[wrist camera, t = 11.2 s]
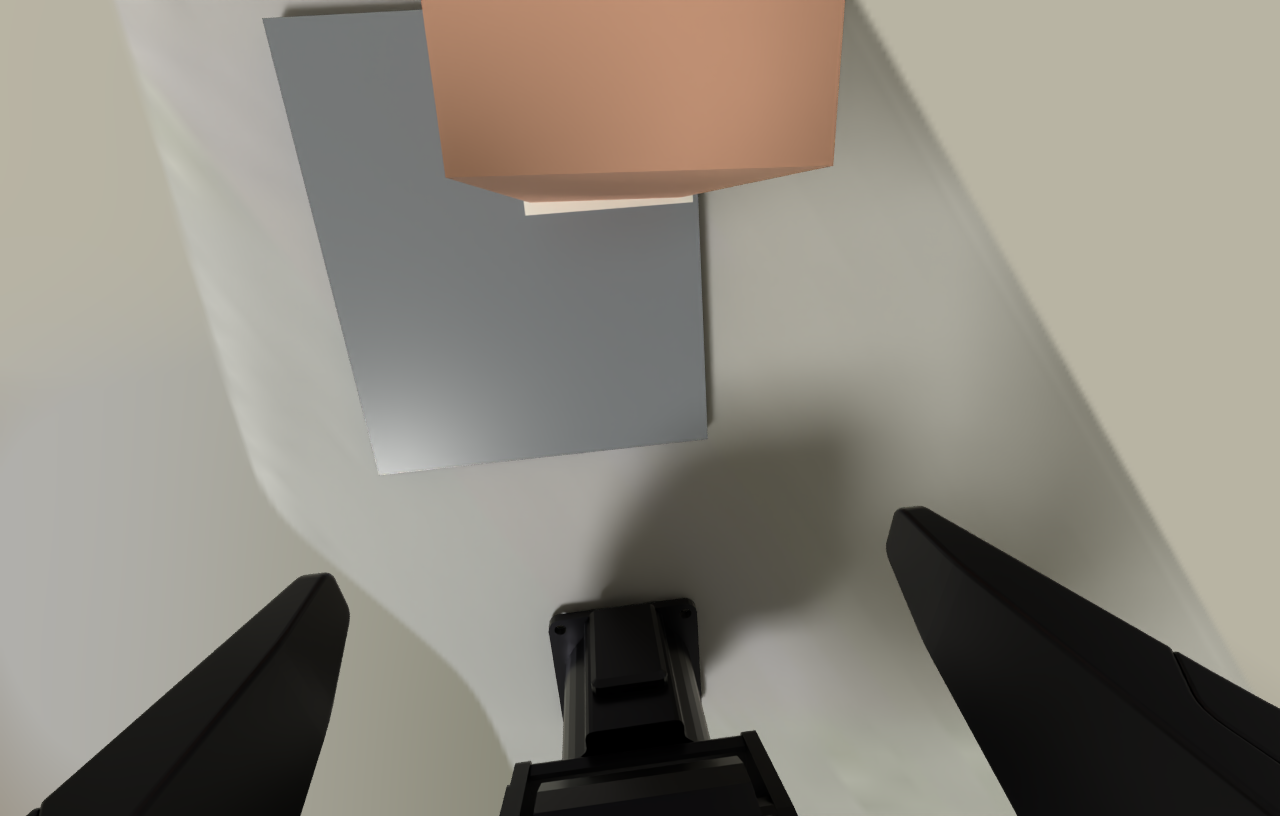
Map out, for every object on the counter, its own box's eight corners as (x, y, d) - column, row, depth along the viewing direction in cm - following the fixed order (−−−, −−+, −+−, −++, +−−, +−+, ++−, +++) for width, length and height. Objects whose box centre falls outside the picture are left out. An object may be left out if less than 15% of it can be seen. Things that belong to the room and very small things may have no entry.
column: (680, 197, 19) (833, 165, 7) (529, 202, 18) (445, 177, 7) (678, 22, 17) (870, -364, 6) (512, 24, 17) (367, -390, 5)
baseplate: (704, 433, 22) (708, 439, 22) (384, 468, 21) (377, 476, 21) (686, 2, 17) (690, -7, 17) (273, 25, 17) (260, 17, 16)
